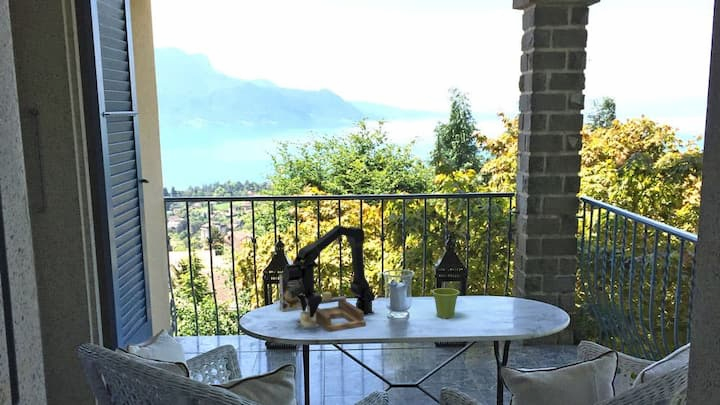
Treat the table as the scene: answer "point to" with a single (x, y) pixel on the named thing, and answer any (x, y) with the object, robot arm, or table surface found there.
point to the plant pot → (445, 301)
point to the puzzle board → (341, 310)
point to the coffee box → (285, 299)
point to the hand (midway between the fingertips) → (307, 314)
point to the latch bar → (328, 298)
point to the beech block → (307, 319)
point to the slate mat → (307, 326)
